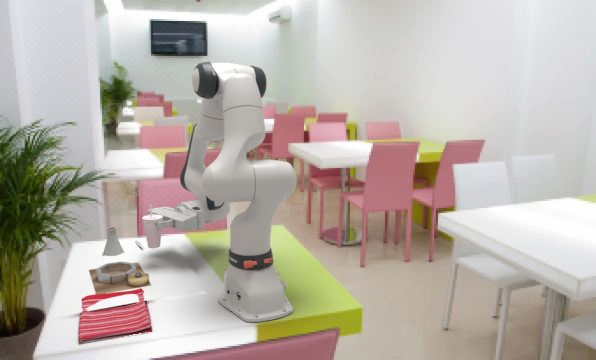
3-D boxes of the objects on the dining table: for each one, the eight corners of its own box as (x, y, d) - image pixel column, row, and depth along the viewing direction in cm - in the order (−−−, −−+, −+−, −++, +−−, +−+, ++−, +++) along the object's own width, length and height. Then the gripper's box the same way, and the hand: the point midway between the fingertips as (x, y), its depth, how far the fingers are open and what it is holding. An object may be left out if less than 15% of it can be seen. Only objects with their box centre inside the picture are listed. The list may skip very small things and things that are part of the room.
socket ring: (138, 279, 151) (138, 272, 151) (99, 286, 146) (99, 278, 146) (132, 267, 161) (132, 259, 160) (95, 273, 156) (94, 265, 155)
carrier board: (151, 289, 148) (151, 276, 147) (96, 298, 141) (95, 285, 140) (138, 266, 165) (138, 254, 164) (89, 273, 158) (88, 261, 157)
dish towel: (145, 295, 145) (145, 286, 145) (154, 334, 124) (153, 324, 123) (80, 303, 139) (79, 294, 138) (77, 346, 117) (77, 336, 117)
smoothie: (139, 248, 159) (136, 204, 157) (152, 242, 165) (150, 200, 162) (156, 250, 157) (154, 206, 154) (168, 244, 163) (166, 202, 160)
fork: (138, 239, 193) (138, 234, 192) (154, 259, 172) (153, 254, 172) (130, 240, 191) (129, 235, 191) (144, 261, 171) (144, 256, 170)
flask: (117, 260, 169) (115, 231, 167) (97, 258, 171) (95, 230, 169) (128, 253, 176) (127, 225, 174) (109, 251, 178) (107, 224, 176)
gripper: (169, 200, 175) (132, 207, 165) (205, 210, 162) (168, 219, 152) (169, 218, 176) (133, 226, 166) (206, 230, 163) (169, 239, 153)
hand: (150, 223), depth 159 cm, fingers closed on smoothie, 6 cm apart
